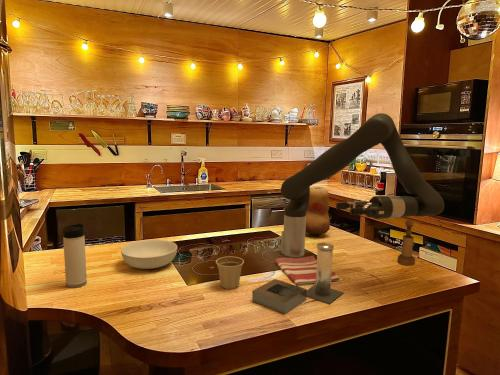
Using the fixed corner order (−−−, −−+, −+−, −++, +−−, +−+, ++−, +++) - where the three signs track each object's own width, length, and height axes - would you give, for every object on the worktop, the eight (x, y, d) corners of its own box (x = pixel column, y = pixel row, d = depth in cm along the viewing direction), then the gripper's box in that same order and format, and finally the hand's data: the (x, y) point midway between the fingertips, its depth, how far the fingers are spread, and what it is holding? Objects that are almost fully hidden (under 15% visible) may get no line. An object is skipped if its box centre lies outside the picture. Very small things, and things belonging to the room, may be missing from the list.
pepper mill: (416, 266, 144) (420, 222, 141) (399, 265, 145) (402, 221, 142) (412, 260, 150) (416, 218, 147) (395, 259, 151) (399, 217, 149)
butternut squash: (301, 238, 179) (303, 188, 175) (302, 231, 192) (304, 184, 188) (329, 240, 177) (332, 189, 173) (328, 232, 190) (331, 185, 186)
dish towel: (312, 260, 149) (313, 254, 149) (340, 283, 127) (341, 276, 127) (274, 263, 145) (274, 257, 145) (296, 288, 123) (296, 280, 122)
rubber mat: (301, 294, 116) (301, 293, 116) (316, 285, 124) (316, 283, 124) (329, 304, 110) (329, 303, 110) (343, 293, 118) (343, 292, 118)
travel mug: (91, 281, 123) (88, 224, 120) (76, 289, 117) (73, 229, 114) (77, 278, 125) (74, 222, 122) (61, 286, 119) (58, 227, 116)
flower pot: (222, 293, 116) (222, 268, 115) (211, 282, 124) (211, 258, 123) (248, 288, 120) (248, 263, 119) (236, 278, 129) (236, 254, 127)
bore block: (252, 301, 111) (252, 290, 111) (274, 288, 120) (275, 278, 120) (284, 314, 104) (285, 302, 103) (306, 299, 113) (306, 289, 112)
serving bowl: (109, 269, 134) (108, 251, 133) (145, 252, 153) (144, 237, 152) (156, 278, 127) (155, 260, 126) (187, 259, 146) (187, 243, 145)
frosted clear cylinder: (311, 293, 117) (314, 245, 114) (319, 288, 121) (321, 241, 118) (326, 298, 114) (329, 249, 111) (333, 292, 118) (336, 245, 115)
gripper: (400, 223, 114) (354, 226, 109) (373, 213, 127) (331, 215, 123) (402, 200, 112) (356, 201, 108) (374, 192, 126) (332, 193, 122)
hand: (343, 208), depth 115 cm, fingers open, 8 cm apart
